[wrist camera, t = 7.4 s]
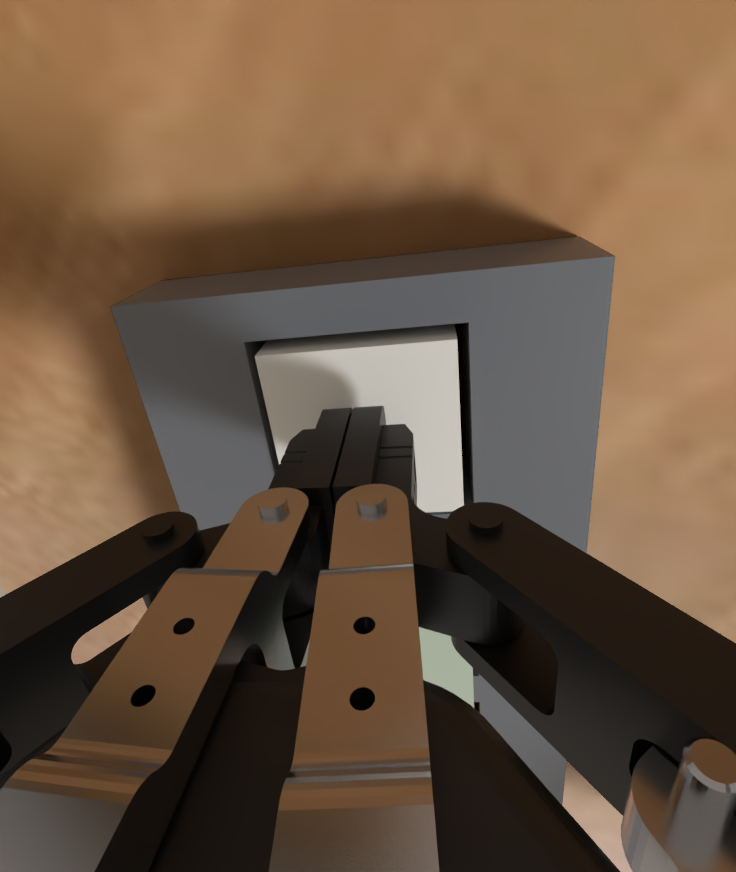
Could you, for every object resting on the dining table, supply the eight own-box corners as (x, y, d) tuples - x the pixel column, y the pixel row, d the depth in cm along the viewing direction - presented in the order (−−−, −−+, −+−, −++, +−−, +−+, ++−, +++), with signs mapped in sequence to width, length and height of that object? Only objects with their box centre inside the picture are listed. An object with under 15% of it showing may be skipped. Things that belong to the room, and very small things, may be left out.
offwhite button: (283, 319, 16) (254, 356, 13) (450, 304, 15) (457, 339, 13) (311, 462, 18) (291, 518, 16) (457, 453, 18) (463, 510, 15)
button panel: (161, 280, 16) (109, 307, 13) (579, 236, 14) (614, 256, 12) (294, 735, 26) (279, 800, 23) (546, 738, 25) (561, 809, 22)
